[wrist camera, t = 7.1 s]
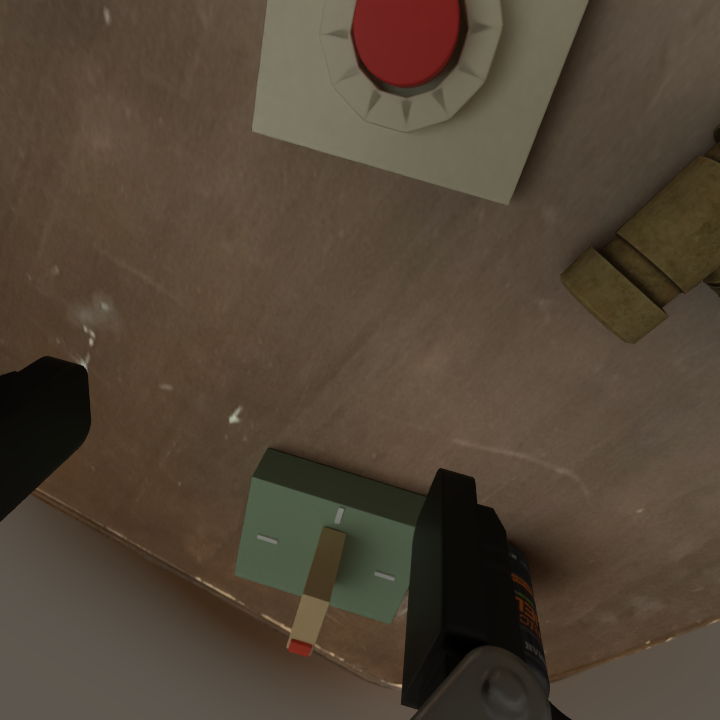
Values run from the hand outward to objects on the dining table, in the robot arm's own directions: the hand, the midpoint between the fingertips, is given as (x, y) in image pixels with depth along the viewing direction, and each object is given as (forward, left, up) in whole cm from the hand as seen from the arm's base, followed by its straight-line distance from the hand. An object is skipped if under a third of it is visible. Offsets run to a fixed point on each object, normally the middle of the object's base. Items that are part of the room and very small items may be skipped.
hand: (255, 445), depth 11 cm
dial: (-3, +20, -14) cm, 25 cm away
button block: (0, -9, -17) cm, 19 cm away
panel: (-3, +20, -17) cm, 26 cm away
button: (0, -9, -13) cm, 16 cm away
